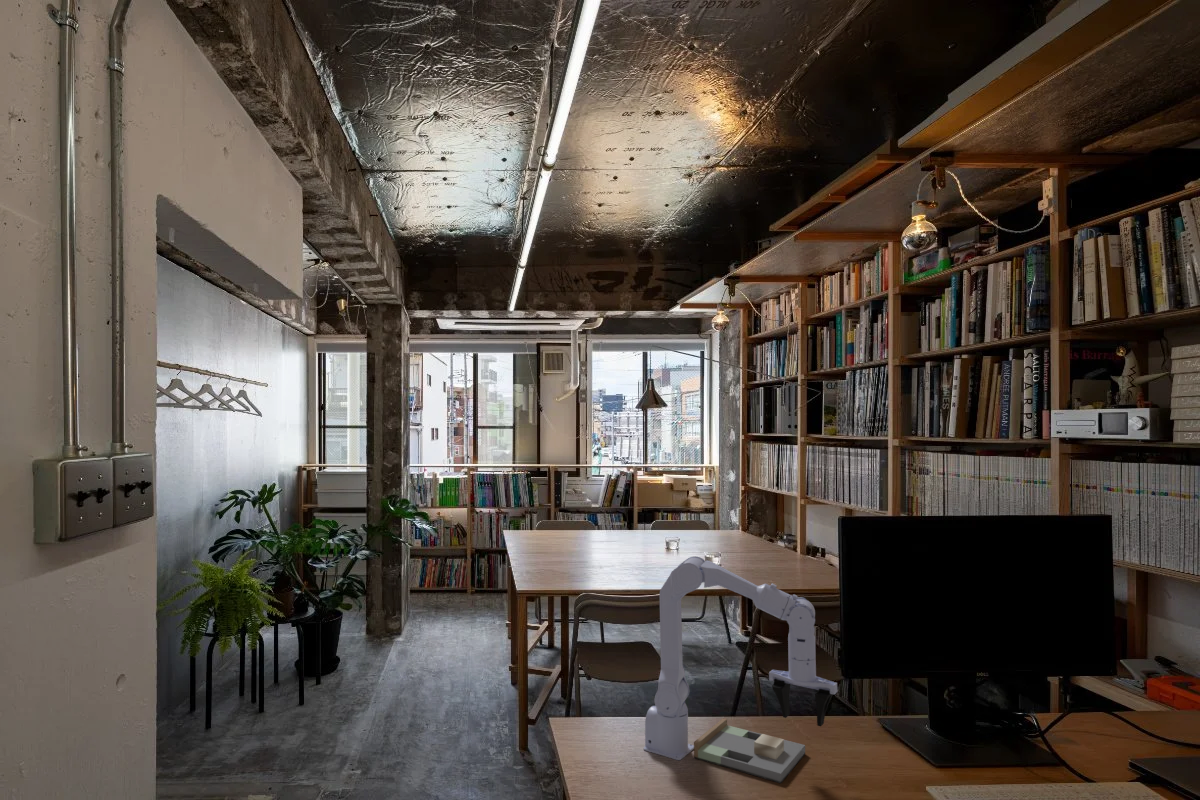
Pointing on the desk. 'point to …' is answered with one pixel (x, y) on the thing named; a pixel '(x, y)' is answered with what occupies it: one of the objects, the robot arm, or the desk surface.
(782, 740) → the cream block
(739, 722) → the desk surface
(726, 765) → the board
